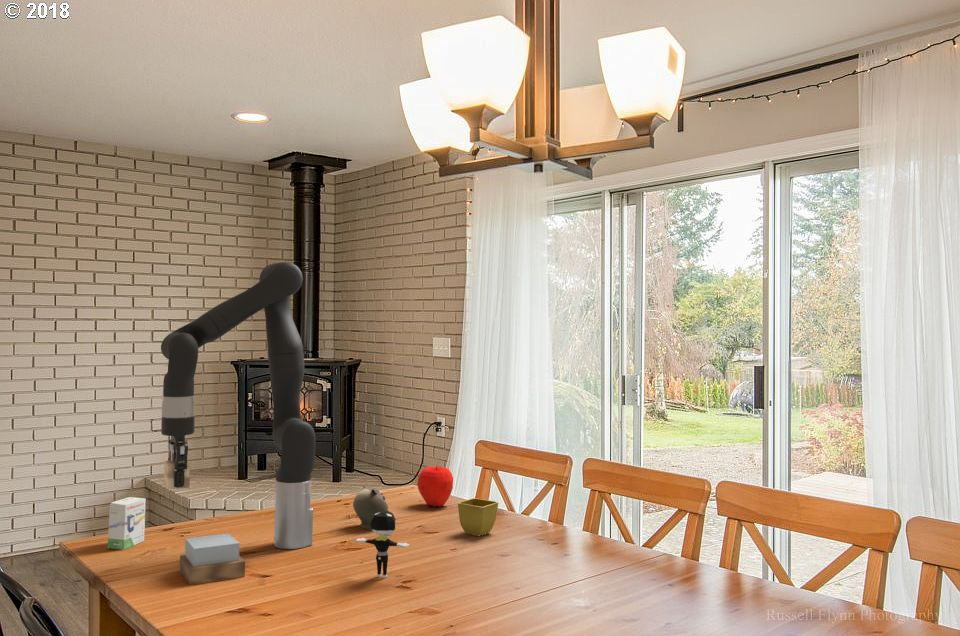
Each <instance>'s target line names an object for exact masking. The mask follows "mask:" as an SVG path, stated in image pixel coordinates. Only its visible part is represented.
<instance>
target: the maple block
mask: <svg viewBox="0 0 960 636" xmlns="http://www.w3.org/2000/svg"><path fill="white" fill-rule="evenodd" d="M182 464H183V463H182V462H178V465H182ZM173 469H174V463H173V462H172V461H169V460H165V461H164V481H163V483H164V485H163V486H164V487H165V489H166V490H177V489H187V488H190V487H191V486H190V483H191V482H190V481H191V480H190V478H191V475H190V473H191V462H190V461H188V460H187V469H185V471H184V486H183V487H175V486H174V470H173Z"/></svg>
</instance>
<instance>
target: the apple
mask: <svg viewBox="0 0 960 636" xmlns="http://www.w3.org/2000/svg"><path fill="white" fill-rule="evenodd" d="M416 486H417V489H418V492H419V495H421V498H422V499H423V500H424V502H425V504H427V505H428V506H431V507H436V506H439V507H443V506H445V504H446V503H447V501H448V500H449V498H450V496H451V495H452V491H453V488H454V476H453V473H452V471H451V470H450V469H449V468H447V467H444V466H438V465H436V466H426V467H424V468H423V469H422V470H421V471H420V473H419V475H418V477H417V485H416Z"/></svg>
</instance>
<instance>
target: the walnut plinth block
mask: <svg viewBox="0 0 960 636" xmlns="http://www.w3.org/2000/svg"><path fill="white" fill-rule="evenodd" d="M179 571H180V574H182V576H183V577H184V579H185V580H186V581H187V583H188V584H189V585H190V586H191V585H192V586H193V585H198V584H205V583H213V582H219V581H226V580H233V579H239V578H245V577H246V560H245V559H244V558H242V557H241V556H240V555H239V561H232V562H225V563H218V564H210V565H203V566H196V567H194V566H193V565H192V564H191V563H190V561H189V560H188V559H187V558H186V556H185V554H180V555H179Z"/></svg>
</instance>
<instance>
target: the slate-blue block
mask: <svg viewBox="0 0 960 636" xmlns="http://www.w3.org/2000/svg"><path fill="white" fill-rule="evenodd" d="M184 540H185V542H184V543H185V545H184V546H185V547H184V555H185V556H186V558H187V559H188V560H189V561H190V563H191V564H192V565H193V566H194V567H196V566H203V565H210V564H218V563H225V562H232V561H239V556H240V542H239V541H238V540H237V539H236V538H235V537H233V536H232V535H231V534H230V533H222V534H212V535H203V536H196V537H187V538H185V539H184Z"/></svg>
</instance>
